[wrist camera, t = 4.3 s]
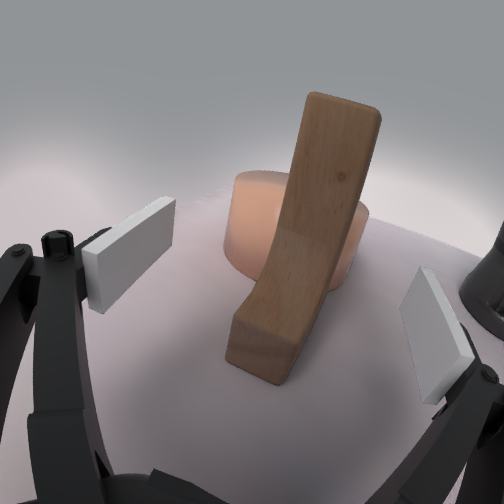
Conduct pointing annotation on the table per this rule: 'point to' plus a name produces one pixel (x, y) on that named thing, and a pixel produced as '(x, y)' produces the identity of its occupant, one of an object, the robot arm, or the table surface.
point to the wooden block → (306, 235)
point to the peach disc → (272, 224)
